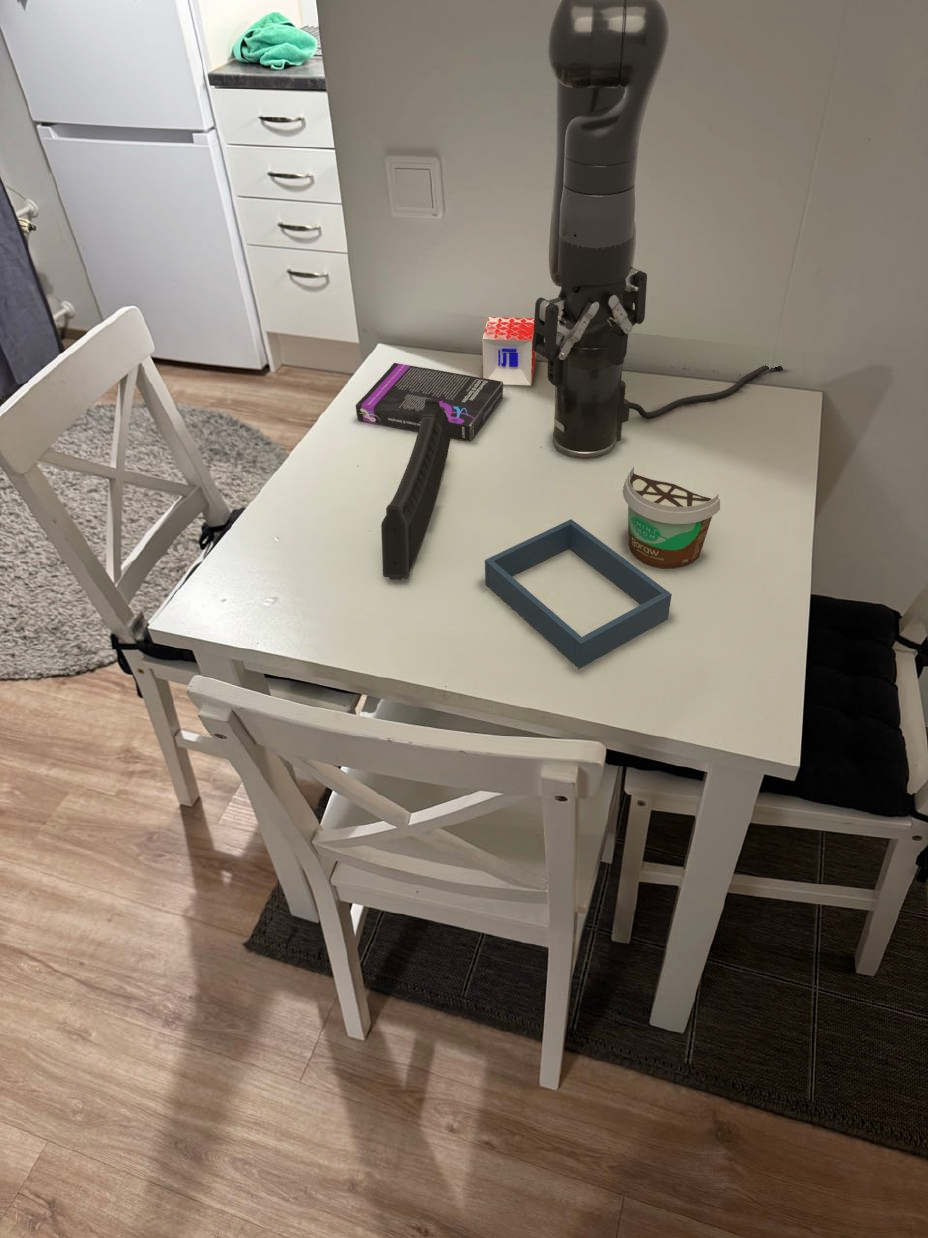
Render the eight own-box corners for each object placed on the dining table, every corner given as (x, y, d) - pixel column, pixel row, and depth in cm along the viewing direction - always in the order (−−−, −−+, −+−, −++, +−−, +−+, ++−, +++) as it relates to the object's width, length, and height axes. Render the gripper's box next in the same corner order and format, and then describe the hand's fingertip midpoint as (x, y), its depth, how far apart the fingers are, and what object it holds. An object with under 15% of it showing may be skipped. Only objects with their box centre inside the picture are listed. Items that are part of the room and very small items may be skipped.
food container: (600, 553, 117) (606, 489, 110) (622, 529, 120) (629, 465, 113) (690, 587, 111) (701, 522, 104) (710, 560, 115) (722, 495, 108)
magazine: (398, 542, 105) (440, 356, 120) (371, 540, 106) (416, 355, 120) (417, 617, 120) (452, 442, 135) (393, 615, 120) (431, 441, 135)
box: (357, 423, 143) (471, 444, 137) (354, 403, 141) (470, 423, 134) (396, 381, 152) (504, 398, 146) (393, 361, 150) (504, 378, 143)
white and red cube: (535, 362, 155) (536, 318, 149) (531, 385, 149) (532, 340, 144) (488, 361, 156) (487, 316, 150) (483, 383, 150) (481, 338, 145)
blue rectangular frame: (569, 543, 118) (571, 518, 116) (667, 619, 107) (672, 593, 105) (485, 584, 113) (484, 559, 110) (579, 669, 102) (580, 643, 99)
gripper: (566, 259, 88) (560, 407, 99) (672, 222, 93) (655, 366, 105) (518, 236, 92) (517, 380, 103) (622, 202, 98) (611, 342, 109)
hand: (587, 373), depth 104 cm, fingers open, 8 cm apart
